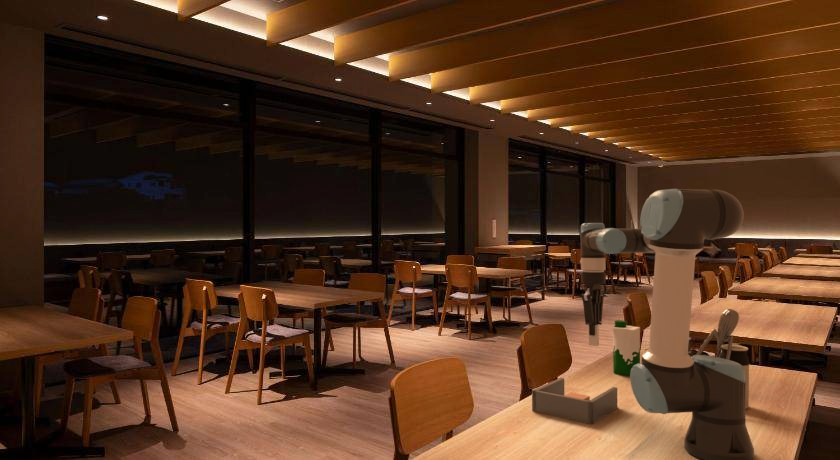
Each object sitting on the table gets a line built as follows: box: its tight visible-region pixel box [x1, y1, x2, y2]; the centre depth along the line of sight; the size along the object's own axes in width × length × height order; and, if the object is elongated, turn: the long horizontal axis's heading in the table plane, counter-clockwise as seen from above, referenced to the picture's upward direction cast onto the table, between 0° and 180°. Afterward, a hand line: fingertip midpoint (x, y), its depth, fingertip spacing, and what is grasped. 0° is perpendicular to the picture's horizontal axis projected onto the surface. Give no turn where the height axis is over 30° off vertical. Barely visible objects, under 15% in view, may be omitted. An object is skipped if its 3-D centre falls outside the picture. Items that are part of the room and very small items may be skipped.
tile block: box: [564, 392, 591, 401], centre depth 168 cm, size 6×6×4 cm
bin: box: [531, 377, 618, 425], centre depth 168 cm, size 19×18×6 cm
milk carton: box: [611, 319, 641, 377], centre depth 207 cm, size 9×9×20 cm
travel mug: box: [719, 343, 750, 410], centre depth 171 cm, size 8×8×18 cm
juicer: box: [695, 308, 740, 360], centre depth 170 cm, size 10×11×30 cm
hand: (593, 345), depth 179 cm, fingers closed
